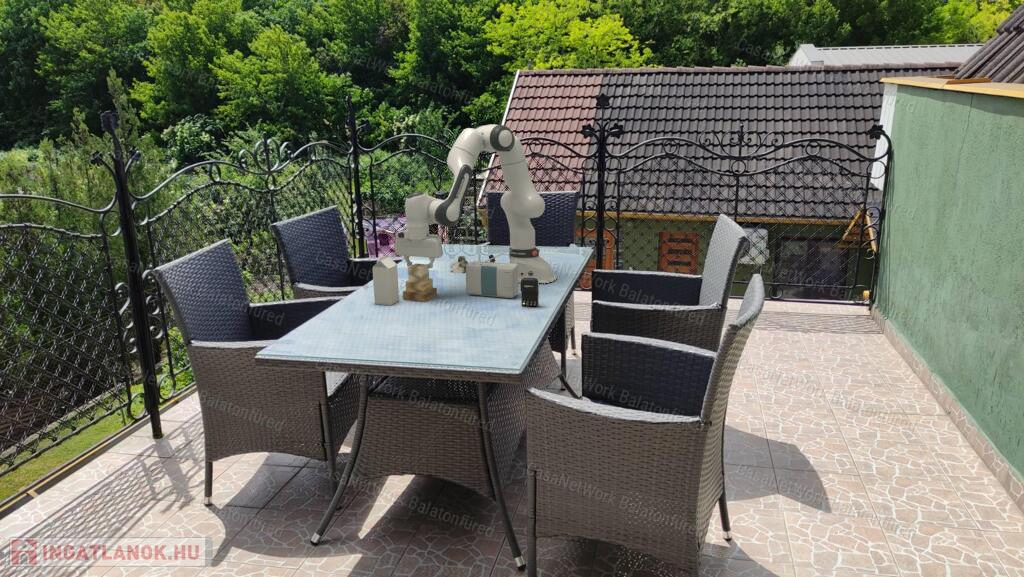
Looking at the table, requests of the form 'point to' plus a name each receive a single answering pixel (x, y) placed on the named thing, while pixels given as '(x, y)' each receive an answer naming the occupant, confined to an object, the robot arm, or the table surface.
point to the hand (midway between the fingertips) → (419, 267)
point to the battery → (530, 291)
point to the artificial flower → (463, 264)
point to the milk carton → (385, 281)
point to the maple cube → (418, 272)
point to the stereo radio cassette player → (492, 278)
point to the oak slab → (419, 286)
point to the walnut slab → (420, 295)
